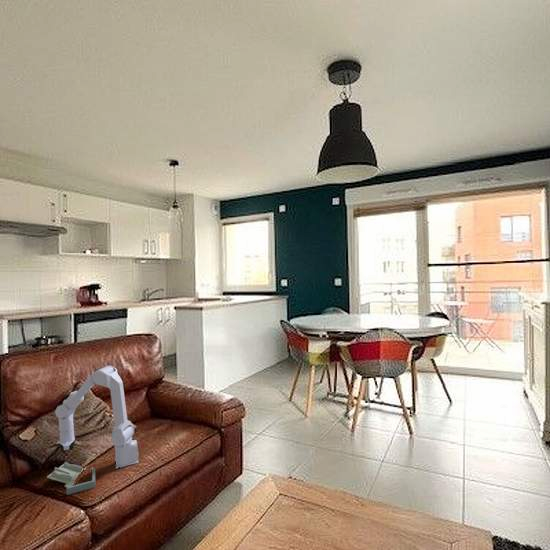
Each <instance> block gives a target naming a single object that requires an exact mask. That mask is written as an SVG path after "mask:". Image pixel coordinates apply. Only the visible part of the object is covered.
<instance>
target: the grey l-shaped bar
mask: <svg viewBox="0 0 550 550" xmlns="http://www.w3.org/2000/svg"><path fill="white" fill-rule="evenodd" d="M91 468H92V471H91V473H92V475H91V480H90V481H86V482H81V483H77V484H76V485H74V486H70V487H65V488H66V489H65V490H66V496H69V495H73V494H77V493H79V492H83V491H87V490H91V489H94V488H96V467H91Z"/></svg>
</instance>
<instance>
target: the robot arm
mask: <svg viewBox="0 0 550 550" xmlns="http://www.w3.org/2000/svg"><path fill="white" fill-rule="evenodd" d="M95 385H98V386H102V387H105V388H108V389H109V390H110V398H111V404H112V405H111V407H112V414H113V421H114V425H113V427H112V431H111V432H112V435H111V438H110V439H111V443H112V445H114V449H115V460H114V462H115V461H116V465H117V466H116V465H115V464H114V465H115V466H116V467H115V466H114V467H115V469H119V467H120V468H123V467H127V466H132V465H135V464H138V463H139V456H140V455H139V451H138V450H139V449H138V441H137V440H136V439H133V436H134V435H135V429H134V428H135V427H134V426H133V424H132V421H130V420H129V419H128V414H127V407H126V405H127V404H126V399H125V398H126V397H125V391H124V390H125V389H124V383H123V380H122V378H121V377H120V375H119V374H118V368H116V367H114V366H113V365H110V364H109V365H106V366H104V367H102V368H100V369H97V370H95V371H93V373H92V374H90V375H89V377H87V379H86V381H85V382H84V383H83V384H82V385H81V386H80V388H79V389H78V390H74V391H71V392H70V393H69V394H68V397H67V398H66V399H64V400H63V402H62V404H60V405H58V406H57V407H56V409H55V410H54V413H55V416H56V417H57V418H58V429H59V440H57V442H56V443H57V444H58V445H59V444H60V447H59V448H60V450H61V451H62V453H63V454H64V453H65V451H67V450H69V449H71V450H72V449H74V447H75V443H76V441H75V440H76V437H75V429H74V428H75V427H74V426H75V425H74V416H75V415H74V413H75V411H76V408H78V406H79V405H80V404H82V402H83V401H84V399H85V395H86V394H87V393H88V391H90V390H91V389H92V388H93V387H94V386H95ZM72 451H73V450H72Z"/></svg>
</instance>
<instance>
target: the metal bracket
mask: <svg viewBox="0 0 550 550" xmlns="http://www.w3.org/2000/svg"><path fill="white" fill-rule="evenodd" d="M83 469H84V470H85V469H86V467H84V468H83V466H81V465H78V464H74V463H73V464H71V463H69V462H67V461H65V462H64V463H63V464H62V465H60V466H59V467H56V466H55V467H54V470H53V471H52V472H51V473H50V474H49V475H47V477H46V478H47V479H50V480H51V481H57V482H60V483H64V484H65V485H64V487H65V488H67V487H70V486H73V485H74V483H75V480H76V478H77V477H78V475H79V474H80V473H81V472H82V471H83Z"/></svg>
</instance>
